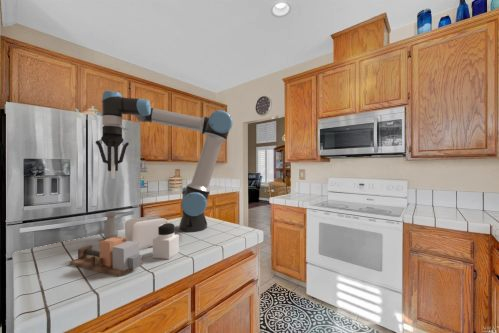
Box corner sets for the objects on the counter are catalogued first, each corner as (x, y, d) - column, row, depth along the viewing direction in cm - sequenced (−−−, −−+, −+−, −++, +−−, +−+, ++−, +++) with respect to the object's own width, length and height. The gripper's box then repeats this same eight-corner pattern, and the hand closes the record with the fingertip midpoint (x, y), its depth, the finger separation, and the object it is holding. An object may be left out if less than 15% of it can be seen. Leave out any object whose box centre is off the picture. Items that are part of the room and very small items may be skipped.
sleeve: (99, 264, 72) (99, 241, 72) (116, 257, 78) (115, 236, 78) (110, 266, 70) (109, 243, 70) (126, 259, 76) (126, 237, 76)
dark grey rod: (81, 254, 78) (81, 249, 78) (86, 252, 80) (86, 247, 80) (118, 262, 72) (118, 256, 72) (123, 259, 74) (123, 254, 74)
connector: (112, 268, 70) (112, 246, 70) (128, 260, 76) (128, 240, 76) (129, 271, 67) (129, 249, 67) (144, 263, 73) (144, 243, 73)
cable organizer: (130, 252, 85) (130, 224, 85) (124, 245, 93) (124, 219, 93) (167, 243, 95) (167, 218, 95) (160, 237, 103) (159, 214, 103)
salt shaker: (100, 239, 101) (100, 212, 101) (112, 235, 106) (112, 210, 106) (109, 241, 99) (109, 213, 99) (120, 237, 104) (120, 210, 104)
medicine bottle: (179, 252, 86) (179, 222, 86) (169, 259, 79) (168, 227, 79) (164, 250, 87) (163, 221, 87) (152, 257, 80) (152, 226, 80)
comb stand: (70, 264, 75) (70, 251, 75) (96, 254, 83) (96, 243, 83) (119, 276, 67) (119, 262, 67) (142, 264, 75) (142, 251, 75)
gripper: (127, 129, 103) (127, 177, 103) (94, 126, 95) (94, 178, 95) (130, 127, 98) (130, 178, 98) (95, 123, 89) (95, 179, 89)
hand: (112, 178), depth 96 cm, fingers closed
